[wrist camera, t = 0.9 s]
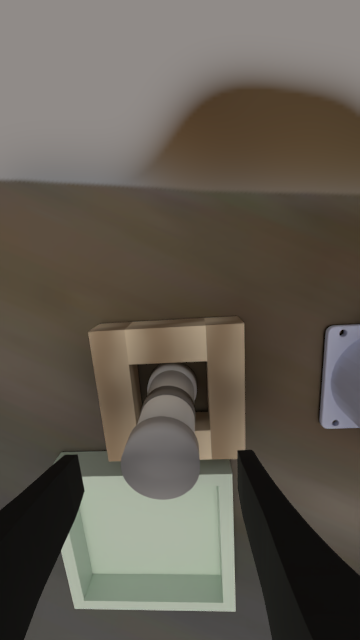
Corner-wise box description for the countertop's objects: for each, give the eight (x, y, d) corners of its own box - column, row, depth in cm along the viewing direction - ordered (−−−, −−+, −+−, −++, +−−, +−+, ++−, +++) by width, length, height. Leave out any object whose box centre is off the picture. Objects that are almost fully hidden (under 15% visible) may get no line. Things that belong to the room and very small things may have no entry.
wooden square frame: (237, 315, 17) (244, 323, 15) (239, 437, 20) (245, 458, 17) (100, 323, 18) (87, 331, 16) (117, 440, 20) (108, 461, 18)
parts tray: (227, 448, 20) (232, 474, 17) (230, 574, 23) (235, 611, 21) (61, 452, 21) (43, 477, 18) (86, 573, 24) (74, 608, 22)
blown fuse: (195, 359, 18) (197, 432, 11) (197, 402, 19) (201, 499, 11) (147, 362, 19) (115, 434, 11) (152, 404, 19) (125, 500, 12)
